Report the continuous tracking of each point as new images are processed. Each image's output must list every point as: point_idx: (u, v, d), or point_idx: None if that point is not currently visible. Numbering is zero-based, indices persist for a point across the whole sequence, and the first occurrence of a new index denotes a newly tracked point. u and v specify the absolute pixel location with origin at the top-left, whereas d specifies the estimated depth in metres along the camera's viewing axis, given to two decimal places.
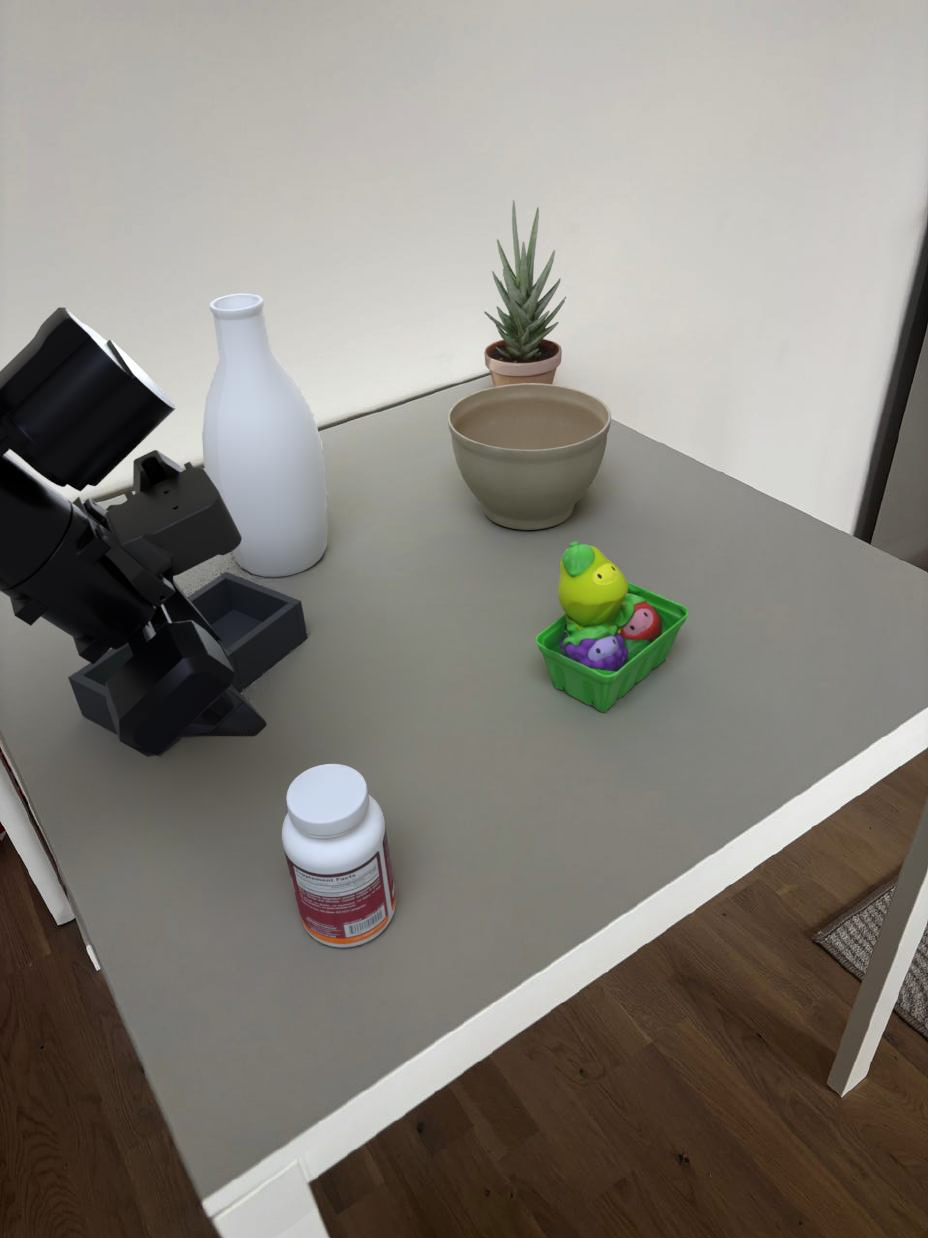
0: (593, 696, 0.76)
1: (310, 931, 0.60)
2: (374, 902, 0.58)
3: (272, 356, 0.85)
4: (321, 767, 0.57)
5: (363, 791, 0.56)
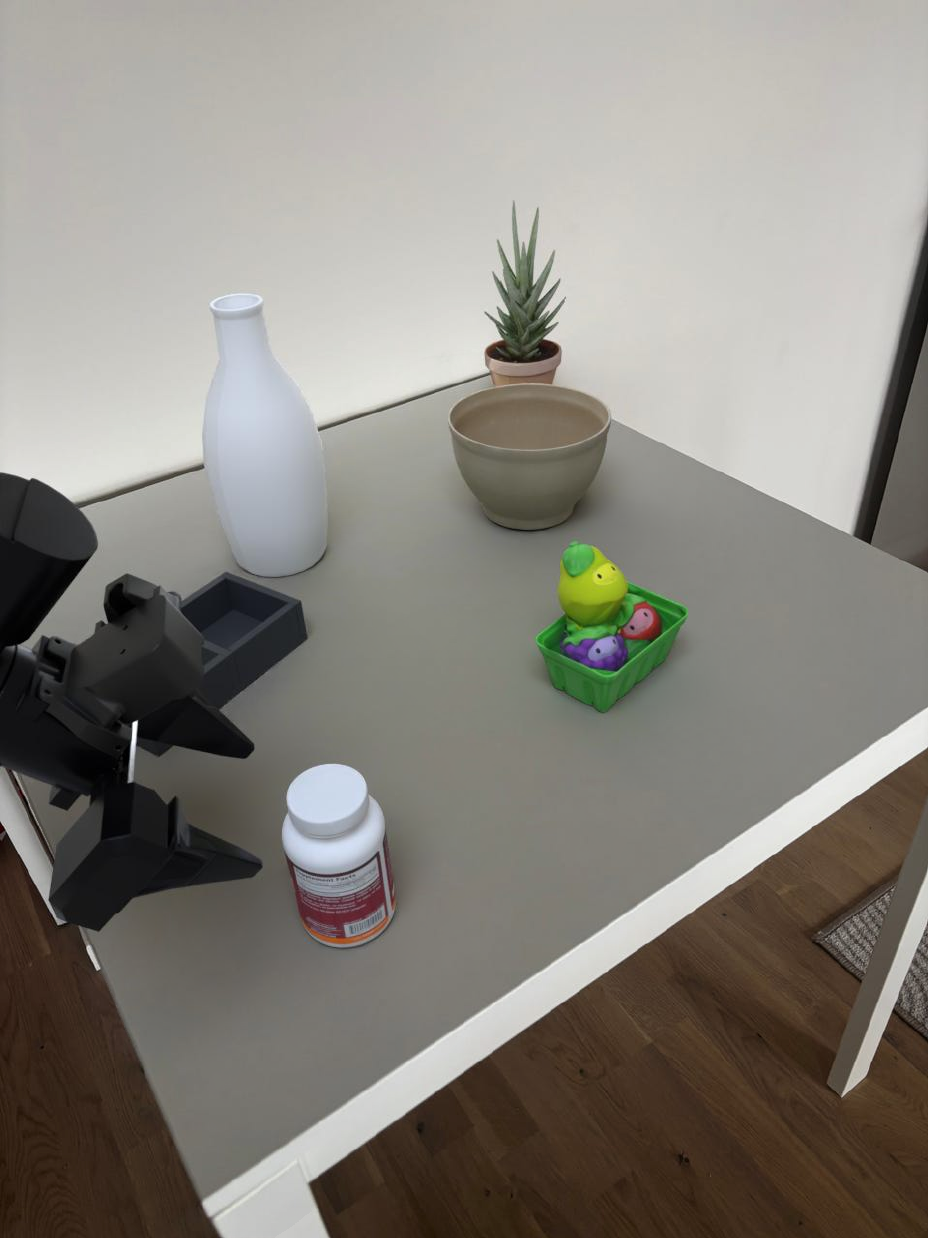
0: (593, 696, 0.76)
1: (310, 931, 0.60)
2: (374, 902, 0.58)
3: (272, 356, 0.85)
4: (321, 767, 0.57)
5: (363, 791, 0.56)
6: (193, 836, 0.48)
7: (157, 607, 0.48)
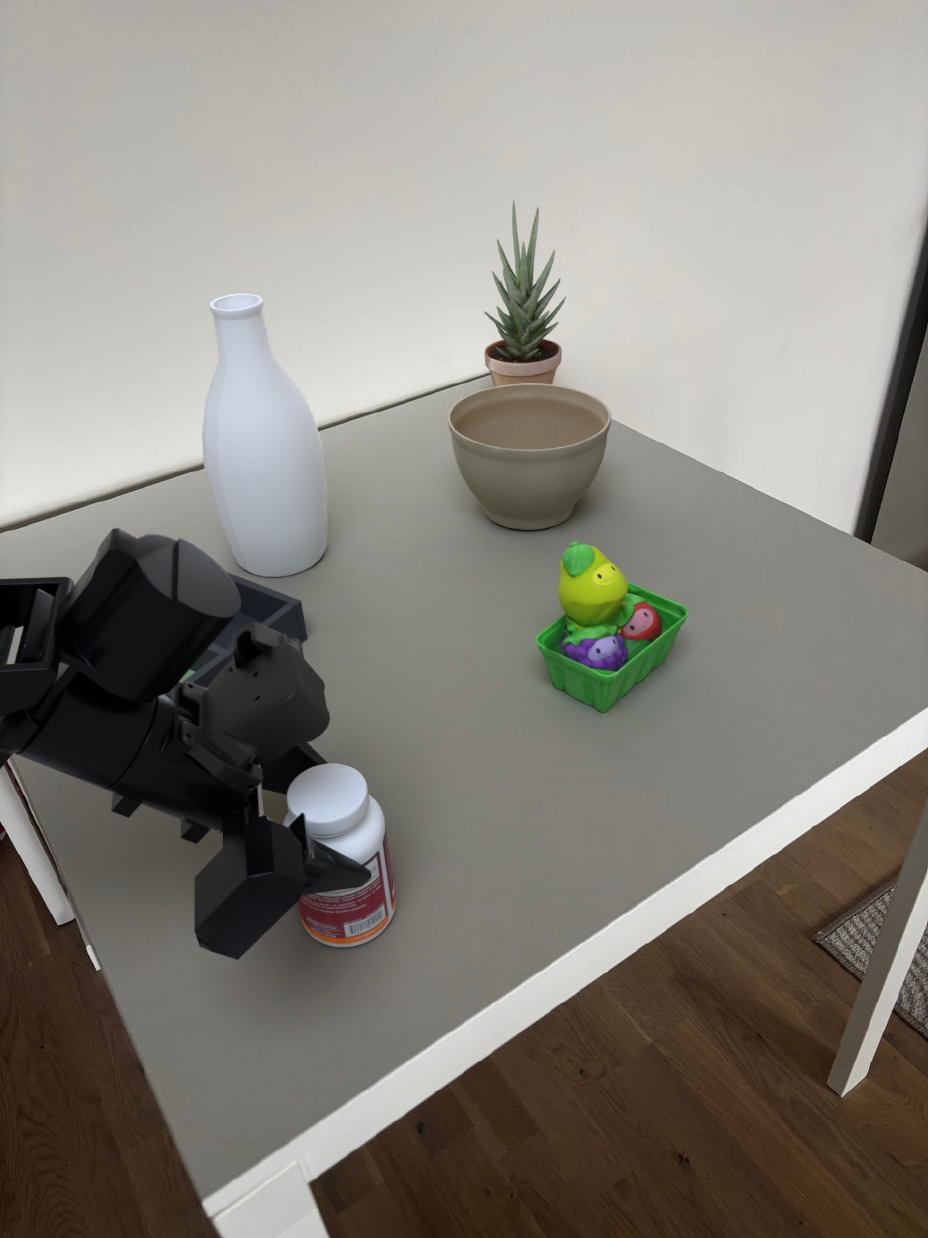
0: (593, 696, 0.76)
1: (310, 931, 0.60)
2: (374, 902, 0.58)
3: (272, 356, 0.85)
4: (321, 766, 0.57)
5: (363, 791, 0.56)
6: (316, 849, 0.52)
7: (286, 655, 0.51)
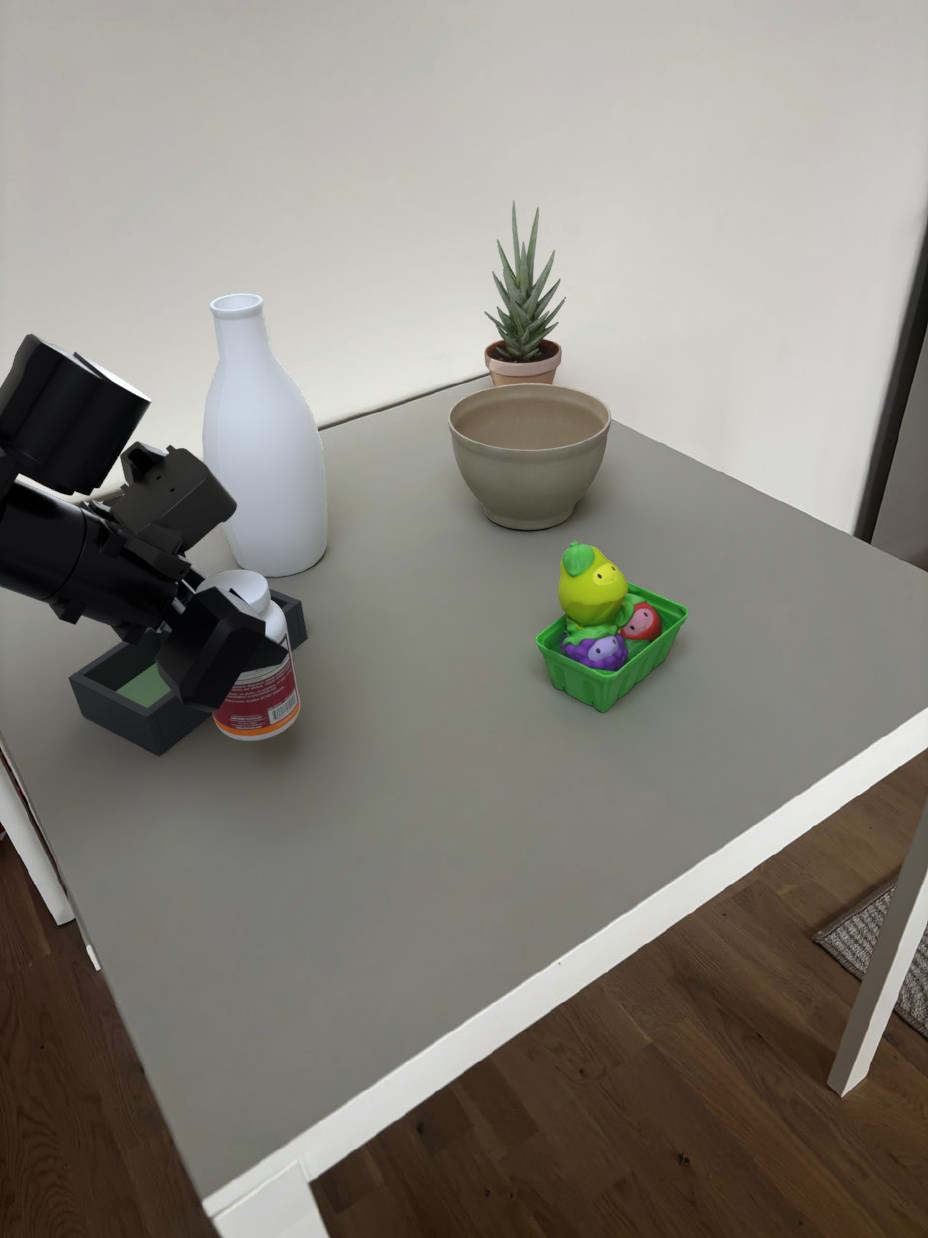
0: (593, 696, 0.76)
1: (235, 732, 0.66)
2: (289, 685, 0.66)
3: (272, 356, 0.85)
4: (216, 575, 0.64)
5: (263, 580, 0.64)
6: None
7: (182, 455, 0.58)
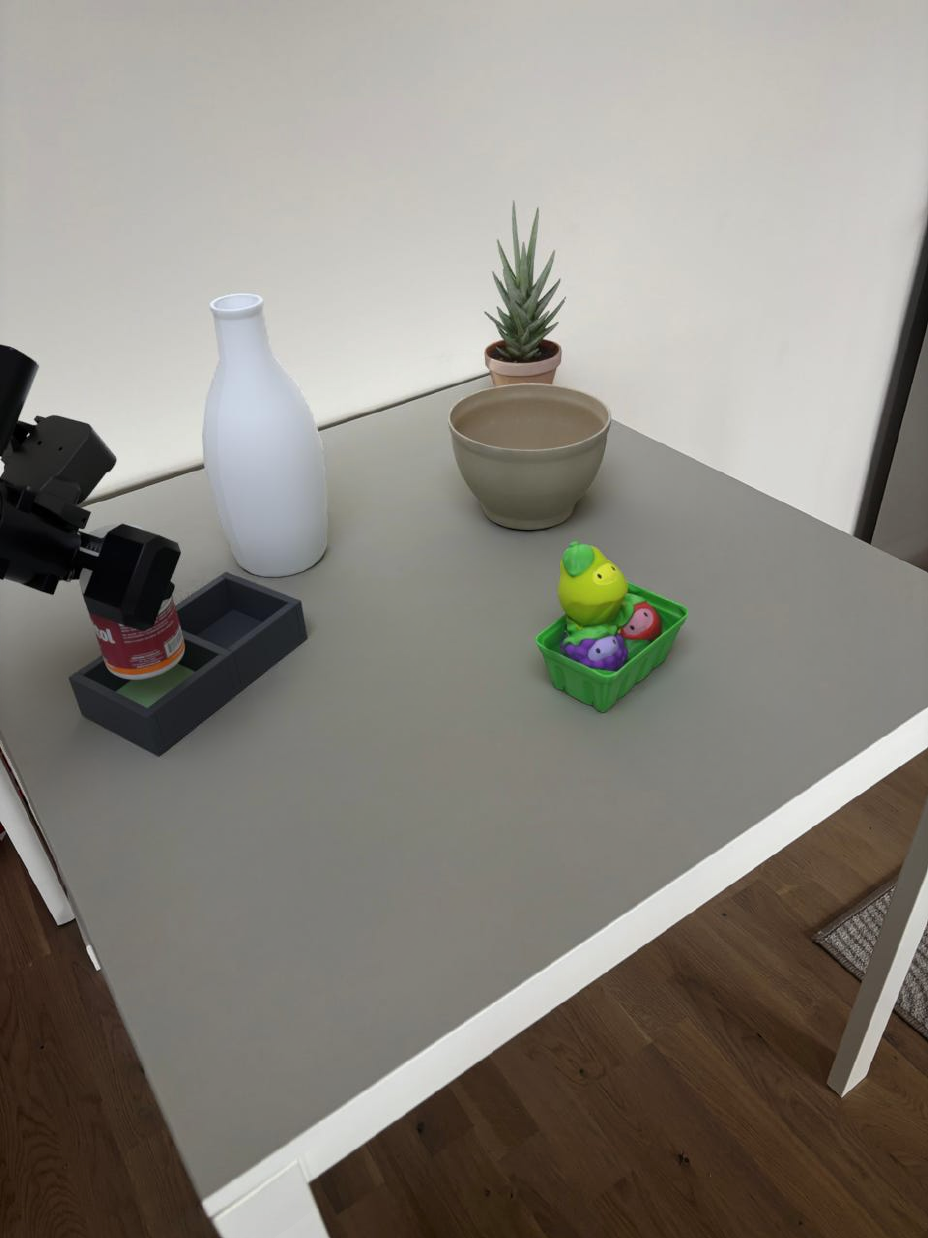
0: (593, 696, 0.76)
1: (136, 672, 0.73)
2: (176, 619, 0.74)
3: (272, 356, 0.85)
4: (91, 533, 0.71)
5: (138, 527, 0.71)
6: None
7: (56, 421, 0.64)
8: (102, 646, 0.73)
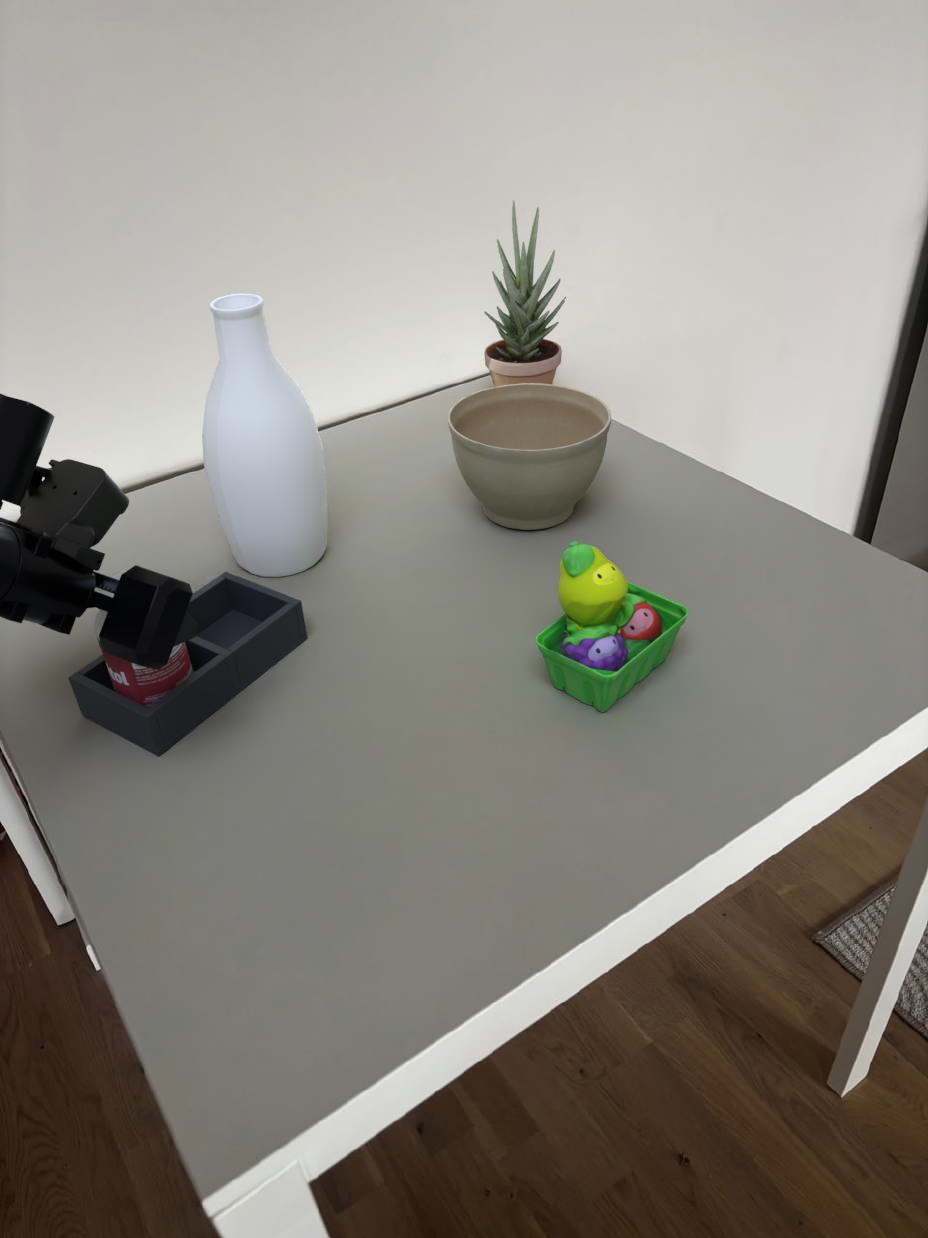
0: (593, 696, 0.76)
1: None
2: (187, 660, 0.77)
3: (272, 356, 0.85)
4: None
5: None
6: None
7: (70, 465, 0.66)
8: (116, 687, 0.75)
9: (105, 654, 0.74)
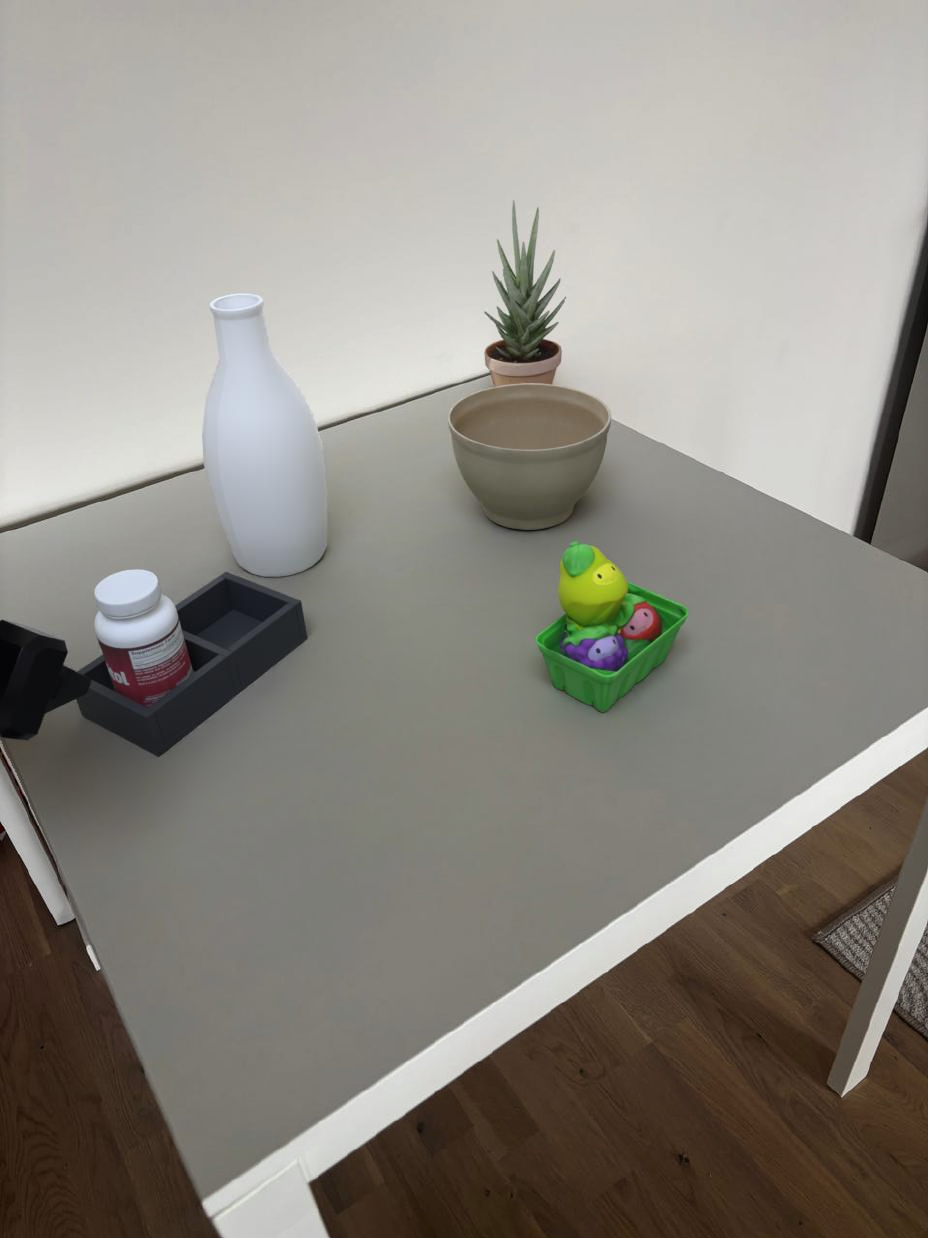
0: (593, 696, 0.76)
1: None
2: (187, 660, 0.77)
3: (272, 356, 0.85)
4: (105, 579, 0.73)
5: (151, 573, 0.74)
6: None
7: None
8: (116, 687, 0.75)
9: (105, 654, 0.74)
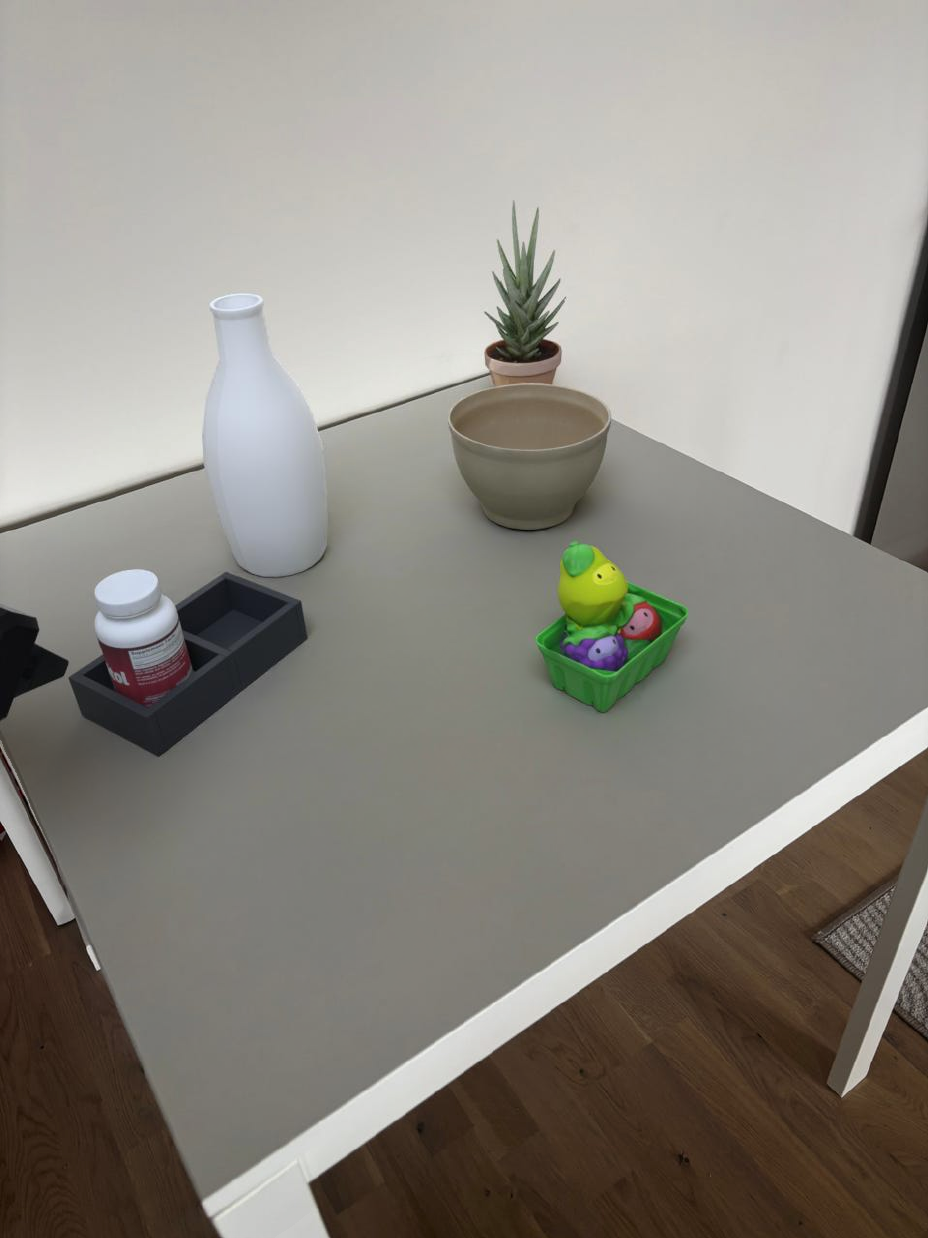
0: (593, 696, 0.76)
1: None
2: (187, 660, 0.77)
3: (272, 356, 0.85)
4: (105, 579, 0.73)
5: (151, 573, 0.74)
6: None
7: None
8: (116, 687, 0.75)
9: (105, 654, 0.74)
